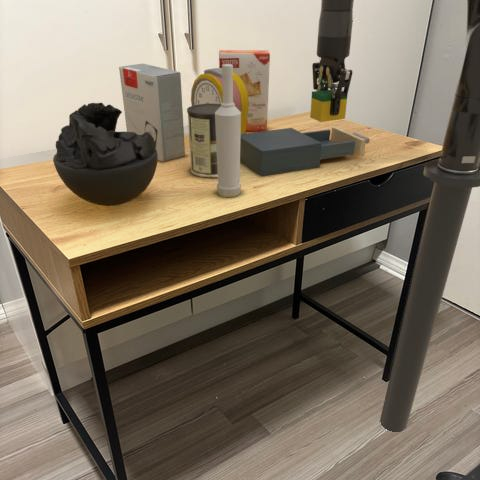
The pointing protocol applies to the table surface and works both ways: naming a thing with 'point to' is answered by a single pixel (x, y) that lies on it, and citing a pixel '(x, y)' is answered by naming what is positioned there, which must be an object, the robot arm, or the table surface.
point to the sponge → (325, 106)
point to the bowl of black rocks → (104, 157)
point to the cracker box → (251, 82)
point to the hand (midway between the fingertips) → (327, 112)
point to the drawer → (339, 142)
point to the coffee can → (203, 139)
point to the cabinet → (279, 151)
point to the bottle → (228, 139)
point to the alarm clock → (220, 92)
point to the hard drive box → (154, 107)
